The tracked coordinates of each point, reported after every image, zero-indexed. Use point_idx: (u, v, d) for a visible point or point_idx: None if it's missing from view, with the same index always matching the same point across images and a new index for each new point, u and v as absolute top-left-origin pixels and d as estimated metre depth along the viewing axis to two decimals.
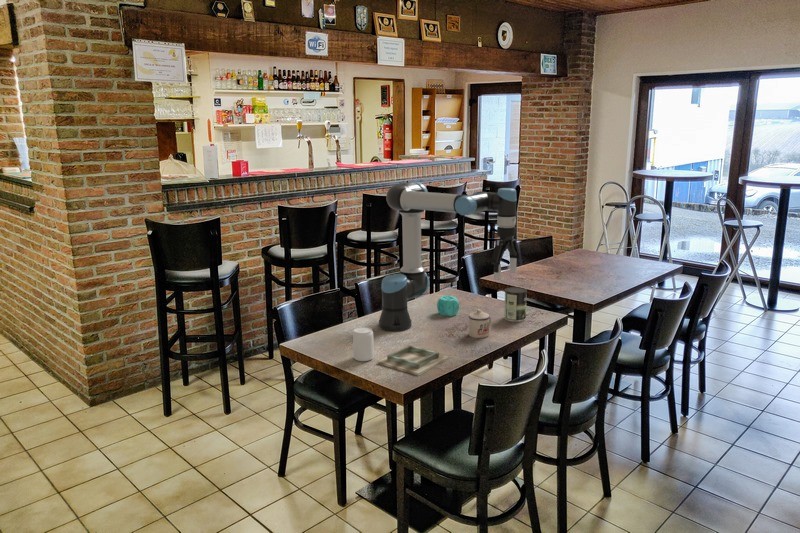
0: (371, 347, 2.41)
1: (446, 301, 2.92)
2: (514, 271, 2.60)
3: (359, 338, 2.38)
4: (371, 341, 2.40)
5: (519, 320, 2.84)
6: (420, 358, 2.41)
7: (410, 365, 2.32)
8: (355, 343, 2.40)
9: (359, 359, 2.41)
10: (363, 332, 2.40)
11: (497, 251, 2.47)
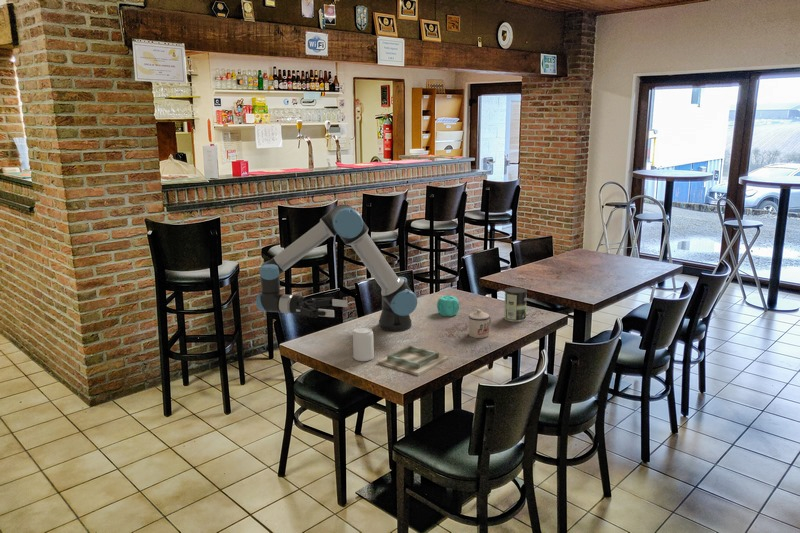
0: (371, 347, 2.41)
1: (446, 301, 2.92)
2: None
3: (359, 338, 2.38)
4: (371, 341, 2.40)
5: (519, 320, 2.84)
6: (420, 358, 2.41)
7: (410, 365, 2.32)
8: (355, 343, 2.40)
9: (359, 359, 2.41)
10: (363, 332, 2.40)
11: None
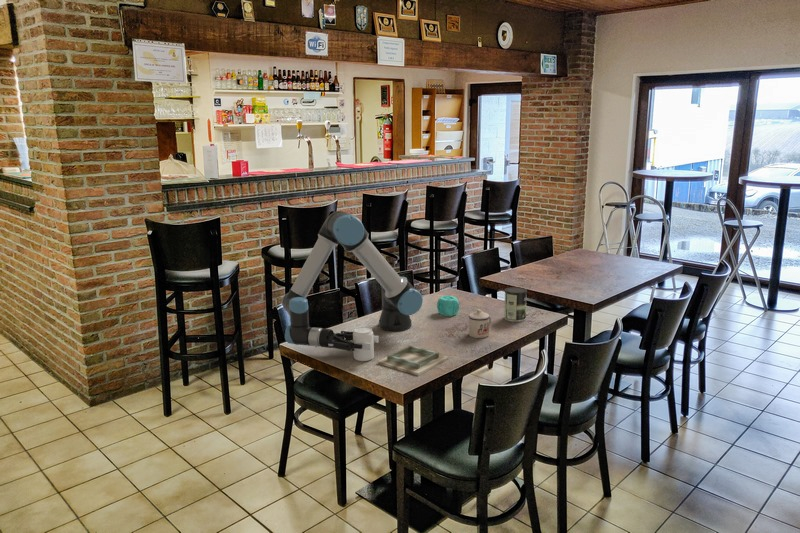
0: (371, 347, 2.41)
1: (446, 301, 2.92)
2: None
3: (359, 338, 2.38)
4: (371, 341, 2.40)
5: (519, 320, 2.84)
6: (420, 358, 2.41)
7: (410, 365, 2.32)
8: None
9: (359, 359, 2.41)
10: (363, 332, 2.40)
11: None
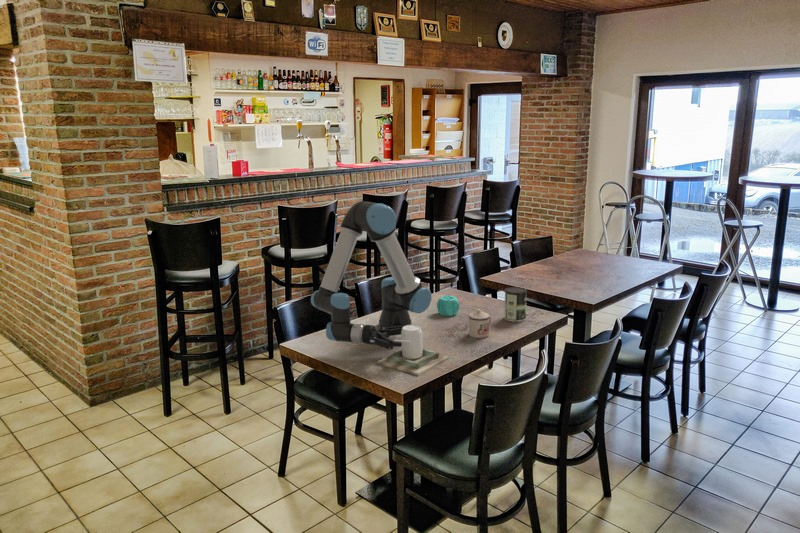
0: (420, 345, 2.39)
1: (446, 301, 2.92)
2: None
3: (408, 336, 2.37)
4: (420, 339, 2.39)
5: (519, 320, 2.84)
6: (420, 358, 2.41)
7: (410, 365, 2.32)
8: None
9: (408, 357, 2.39)
10: (412, 330, 2.38)
11: None
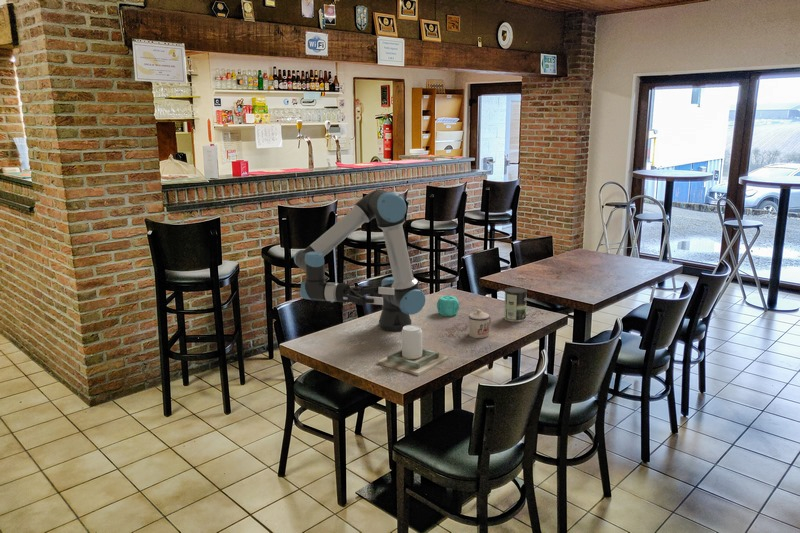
0: (420, 345, 2.39)
1: (446, 301, 2.92)
2: None
3: (409, 336, 2.37)
4: (420, 339, 2.39)
5: (519, 320, 2.84)
6: (420, 358, 2.41)
7: (410, 365, 2.32)
8: (404, 341, 2.38)
9: (408, 357, 2.39)
10: (412, 330, 2.38)
11: None
